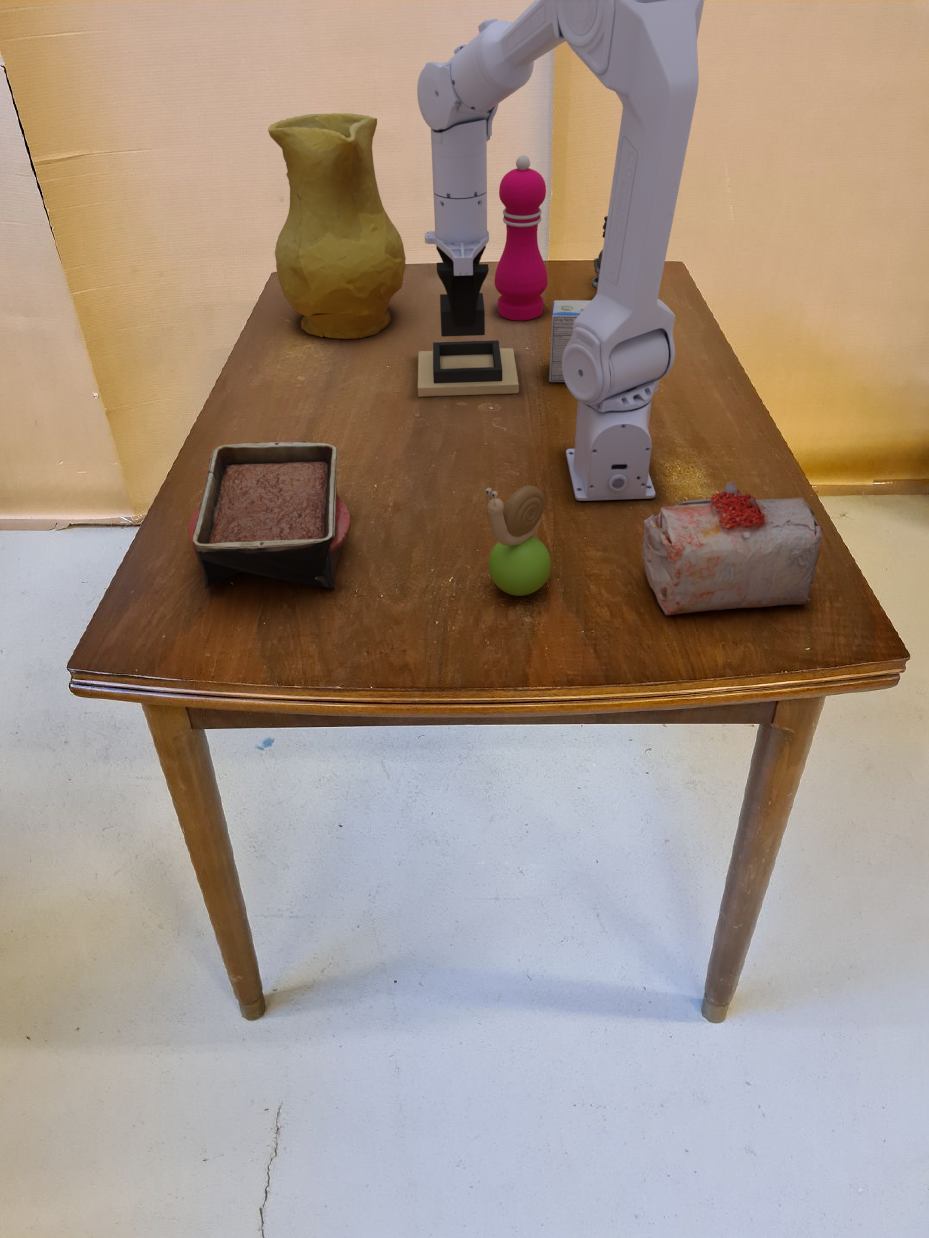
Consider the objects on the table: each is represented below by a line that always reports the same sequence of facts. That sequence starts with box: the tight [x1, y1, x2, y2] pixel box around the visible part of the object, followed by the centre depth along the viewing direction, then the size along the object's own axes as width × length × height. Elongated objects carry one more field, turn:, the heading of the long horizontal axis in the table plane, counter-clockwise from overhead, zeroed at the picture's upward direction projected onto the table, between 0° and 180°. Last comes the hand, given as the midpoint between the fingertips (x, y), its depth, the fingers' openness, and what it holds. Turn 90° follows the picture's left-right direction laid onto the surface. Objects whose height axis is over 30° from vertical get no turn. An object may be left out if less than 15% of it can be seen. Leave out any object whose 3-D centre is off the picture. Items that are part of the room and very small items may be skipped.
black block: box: [439, 292, 486, 338], centre depth 105 cm, size 5×5×3 cm
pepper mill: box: [494, 154, 549, 321], centre depth 120 cm, size 7×7×20 cm
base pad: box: [417, 339, 520, 398], centre depth 111 cm, size 10×12×3 cm
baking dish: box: [188, 441, 352, 590], centre depth 83 cm, size 14×18×10 cm
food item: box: [641, 480, 824, 616], centre depth 76 cm, size 14×8×10 cm, turn 95°
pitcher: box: [267, 112, 407, 340], centre depth 118 cm, size 17×19×25 cm
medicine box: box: [548, 299, 592, 383], centre depth 108 cm, size 8×4×9 cm, turn 84°
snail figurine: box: [485, 485, 552, 597], centre depth 76 cm, size 5×6×12 cm
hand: (463, 315), depth 105 cm, fingers closed on black block, 5 cm apart
